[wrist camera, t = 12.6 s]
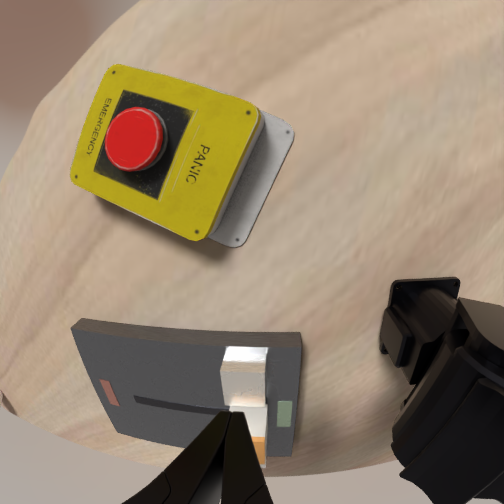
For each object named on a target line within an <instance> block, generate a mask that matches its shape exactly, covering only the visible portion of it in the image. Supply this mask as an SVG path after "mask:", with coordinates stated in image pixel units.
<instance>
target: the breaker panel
mask: <svg viewBox="0 0 504 504" xmlns="http://www.w3.org/2000/svg"><path fill="white" fill-rule="evenodd" d="M71 331H72V334H73V337H74V340H75V342H76V345H77V348H78V350H79V353H80V356H81V358H82V361H83V363H84V366H85V368H86V370H87V373H88V375H89V377H90V379H91V382H92V384H93V386H94V388H95V390H96V393H97V395H98V397H99V399H100V401H101V403H102V405H103V407H104V409H105V411H106V413H107V415H108V416H109V418H110V420H111V422H112V424H113V426H114V427H115V429H116V431H117V432H118V433H121V434H124V435H128V436H132V437H135V438H139V439H143V440H147V441H152V442H156V443H161V444H165V445H170V446H176V447H181V448H186V447H187V446H188V445H189V444H190V443H191V442H192V441H193V440H194V439H195V438H196V437H197V436H198V435H199V433H200V432H201V431H202V430H203V429H204V428H205V427H206V426H207V425H208V424H209V422H210V421H211V420H212V419H213V418H214V417H215V416H216V415H217V414H218V412H219V411H221V410H226V411H229V409H230V406H243V407H265V404H268V432H267V444H266V456H265V464H260V466H261V468H266V460H267V456H291V455H292V447H293V438H294V429H295V420H296V410H297V399H298V388H299V376H300V363H301V348H302V347H301V336H300V332H229V331H206V330H189V329H175V328H162V327H151V326H141V325H131V324H122V323H114V322H106V321H99V320H92V319H85V318H81V319H80V320H79V321H78V322H77V323H76V324H74V325H73V326H72V327H71Z"/></svg>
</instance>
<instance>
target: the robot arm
mask: <svg viewBox="0 0 504 504" xmlns="http://www.w3.org/2000/svg"><path fill="white" fill-rule="evenodd" d="M455 282H456V283H455ZM454 283H455V285H453V284H454ZM398 285H400V287H399V288H398V289H396V287H397V286H398ZM459 287H460V280H459V279H458V278H457V277H443V278H424V279H403V280H395V281H394V282H393V283H392V285H391V291H390V297H389V303H388V307H387V308H386V309H385V312H384V318H383V323H382V328H381V333H380V337H381V344H380V351H381V353H382V354H389V355H390V357H391V359H392V361H393V363H394V365H395V366H396V367H397V368H400V367H401V368H402V370H403V372H404V374H405V376H406V378H407V380H408V382H409V384H410V385H414V384H416V385H415V387H414V388H413V390H412V392H411V393H410V395H409V396H408V398H407V399H405V400H404V401H403V403H402V404H401V411H400V414H399V415H398V416H397V418H396V420H395V422H394V425H393V428H392V433H393V442H392V443H391V448H392V450H393V453H394V455H395V456H396V458H397V459H398V460H399V462H400V463H401V464H402V465H403V466H404V467H405V469H404V470H403V471H402V472H401V473H400V474H399V475H400V477H401V478H404V479H406V480H408V481H410V482H412V483H414V484H415V485H416V486H418V487H419V488H420V489H422V490H423V491H424V493H425V494H426V495H427V496H428V497H429V499H430V500H431V501H432V503H433V504H466V503H467V502H468V501H470V500H471V499H472V498H480V499H495V500H497V501H499V502H500V503H502V504H504V307H502V306H500V305H495V304H490V303H485V302H480V301H475V300H470V299H465V298H460V297H459V298H458V299H457V296H458V292H459ZM384 348H386V349H384ZM220 499H221V504H273V501H272V499H271V496H270V493H269V491H268V487H267V485H266V482H265V479H264V476H263V473H262V469H261V466H260V463H259V460H258V457H257V454H256V450H255V447H254V444H253V441H252V437H251V434H250V430H249V427H248V424H247V420H246V417H245V413H244V412H240V411H233V412H232V411H226V410H221V411H219V412H218V414H217V415H216V416H215V417H214V418H213V419H212V420H211V421H210V422H209V424H208V425H207V426H206V427H205V428H204V429H203V430H202V431H201V432H200V433H199V435H198V436H197V437H196V438H195V439H194V440H193V441H192V442H191V443H190V444H189V445H188V446H187V447H186V448H185V449H184V450H183V451H182V452H181V453H180V454H179V456H178V457H177V458H176V459H175V460H174V461H173V462H172V463H171V464H170V465H169V466H168V467H167V468H166V469H165V470H164V471H163V472H161V474H160V475H158V476H157V478H155V479H154V480H153V481H152V482H151V483H150V484H149V485H147V486H146V487H145V488H143V489H142V490H141V491H139V492H138V493H137V494H135V495H134V496H132V497H131V498H129V499H128V500H126V501H125V502H123V503H122V504H219V502H220Z"/></svg>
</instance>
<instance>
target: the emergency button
mask: <svg viewBox="0 0 504 504" xmlns="http://www.w3.org/2000/svg"><path fill="white" fill-rule="evenodd" d="M293 137H294V131H293V129H292V127H291V125H290V124H288V123H287V122H286V121H284V120H282V119H280V118H278V117H276V116H273V115H271V114H269V113H266V112H264V111H261V110H259V109H258V108H257V107H256V106H255V105H253V104H252V103H250V102H248V101H245V100H243V99H240V98H237V97H235V96H232V95H229V94H226V93H223V92H221V91H218V90H215V89H212V88H209V87H206V86H203V85H199V84H196V83H193V82H190V81H186V80H183V79H179V78H176V77H172V76H169V75H165V74H161V73H157V72H153V71H149V70H145V69H140V68H136V67H131V66H126V65H121V64H116V65H113V66H111V67H110V68H108V70H107V71H106V73H105V74H104V76H103V79H102V81H101V83H100V85H99V88H98V90H97V92H96V95H95V97H94V100H93V102H92V105H91V107H90V110H89V112H88V115H87V118H86V120H85V123H84V126H83V129H82V132H81V135H80V138H79V141H78V144H77V147H76V150H75V154H74V157H73V161H72V164H71V168H70V178H71V181H72V182H73V183H74V184H75V185H77V186H79V187H81V188H83V189H85V190H87V191H89V192H91V193H93V194H95V195H97V196H99V197H101V198H103V199H105V200H107V201H109V202H111V203H113V204H116V205H118V206H120V207H122V208H124V209H126V210H128V211H130V212H132V213H134V214H136V215H138V216H140V217H142V218H145V219H147V220H149V221H151V222H153V223H155V224H157V225H159V226H161V227H163V228H166V229H168V230H170V231H172V232H174V233H176V234H178V235H180V236H183V237H185V238H187V239H189V240H193V241H199V240H201V239H204V238H206V237H208V238H210V239H212V240H214V241H217V242H219V243H221V244H223V245H225V246H229V247H237V246H241V245H242V244H243V243H244V242H245V241H246V239H247V237H248V235H249V233H250V230H251V228H252V226H253V224H254V222H255V220H256V218H257V215H258V213H259V211H260V209H261V207H262V205H263V203H264V200H265V198H266V196H267V194H268V192H269V190H270V188H271V186H272V184H273V181H274V179H275V177H276V175H277V173H278V171H279V169H280V167H281V165H282V162H283V160H284V158H285V156H286V154H287V152H288V150H289V148H290V146H291V144H292V141H293Z"/></svg>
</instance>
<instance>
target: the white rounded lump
mask: <svg viewBox="0 0 504 504" xmlns="http://www.w3.org/2000/svg"><path fill="white" fill-rule="evenodd" d="M2 398H3V393H2V392H1V390H0V406H1V403H2Z"/></svg>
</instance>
